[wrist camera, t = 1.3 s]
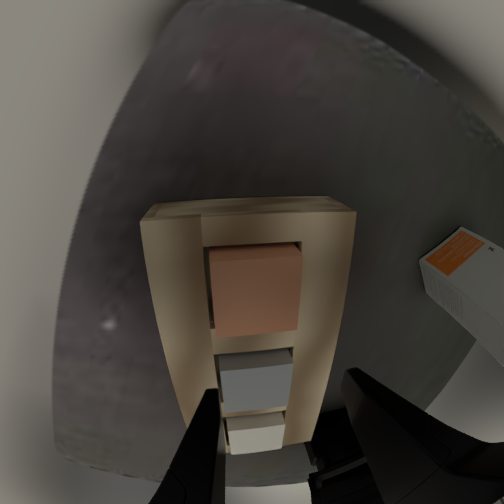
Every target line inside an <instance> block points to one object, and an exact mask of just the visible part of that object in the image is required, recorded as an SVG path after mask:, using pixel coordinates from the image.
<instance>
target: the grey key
mask: <svg viewBox="0 0 504 504" xmlns="http://www.w3.org/2000/svg"><path fill="white" fill-rule="evenodd" d="M219 367H220V376H221V385H222V393H223V400H224V408H225V413H229V412H241V411H251V410H259V409H267V408H274V407H281V406H288V402H289V395H290V387H291V380H292V372H293V361H292V358H291V355H290V352H289V350H288V347H286V348H278V349H269V350H260V351H250V352H239V353H227V354H219Z"/></svg>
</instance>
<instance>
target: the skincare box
mask: <svg viewBox="0 0 504 504" xmlns="http://www.w3.org/2000/svg"><path fill="white" fill-rule="evenodd" d="M419 265H420V269H421V273H422V277H423V282H424V287H425V292H426V293H427V294H428V295H429V296H430V297H431V298H432V299H433V300H434V301H436V302H437V303H438V304H439V305H440V306H441V307H442V308H443V309H445V310H446V311H447V312H448V313H449V314H450V315H451V316H452V317H453V318H454V319H456V320H457V321H458V322H459V323H460V324H461V325H462V326H463V327H464V328H465V329H466V330H467V331H468V332H469V333H470V334H472V335H473V336H474V337H475V338H476V339H477V340H478V341H479V342H480V343H481V344H482V345H483V346H484V347H485V348H486V349H487V350H488V351H489V352H490V353H491V354H492V355H493V356H494V358H495V359H497V361H498V362H499V363H500V364H501V365H502V366H503V367H504V249H503V248H501V247H499V246H497V245H495V244H494V243H492V242H490V241H488V240H486V239H485V238H483V237H481V236H479V235H477V234H475V233H473V232H471V231H469V230H467V229H465V228H463V227H460V228H459V229H458V230H457V231H456V232H454V233H453V234H452V235H451V236H450V237H448V238H447V239H446V240H445V241H443V242H442V243H441V244H440V245H438V246H437V247H436V248H434V249H433V250H432V251H430V252H429V253H428V254H426V255H425V256H423V257H422V258H421V259H420V260H419Z"/></svg>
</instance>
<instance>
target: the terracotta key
mask: <svg viewBox="0 0 504 504" xmlns="http://www.w3.org/2000/svg"><path fill="white" fill-rule="evenodd" d="M209 263H210V276H211V288H212V300H213V311H214V321H215V331H216V338H221V337H234V336H246V335H257V334H267V333H276V332H285V331H293V330H297V326H298V316H299V305H300V294H301V281H302V268H303V255H302V254H301V252H300V251H299V250H298V248H297V247H296V246H295V245H294V243H293V242H277V243H259V244H242V245H225V246H209Z"/></svg>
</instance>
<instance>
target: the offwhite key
mask: <svg viewBox="0 0 504 504" xmlns="http://www.w3.org/2000/svg"><path fill="white" fill-rule="evenodd" d="M226 420H227V429H228V436H229V443H230V449H231V455H234V454H245V453H254V452H262V451H269V450H276V449H281V448H282V442H283V436H284V430H285V421H284V418H283V414H282V411H277V412H269V413H262V414H253V415H244V416H233V417H226Z"/></svg>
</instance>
